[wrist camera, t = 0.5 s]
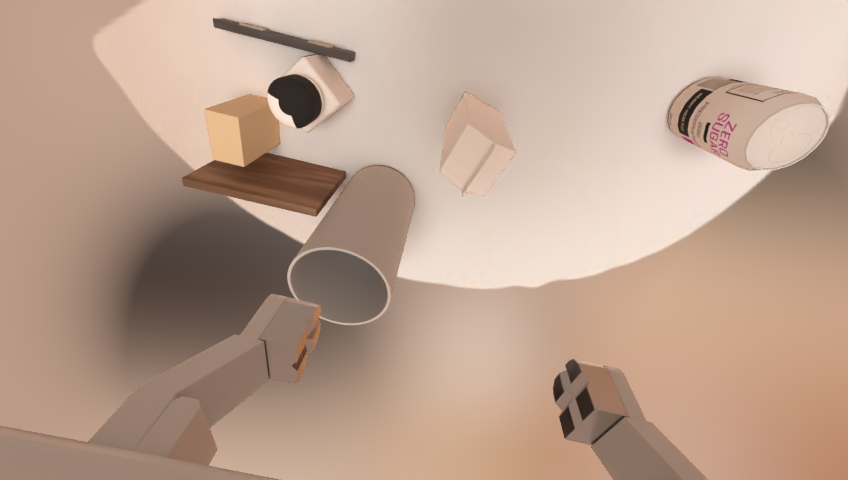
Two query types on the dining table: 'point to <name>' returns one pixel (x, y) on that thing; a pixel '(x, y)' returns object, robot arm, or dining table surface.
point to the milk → (475, 146)
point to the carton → (241, 130)
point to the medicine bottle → (308, 93)
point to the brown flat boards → (271, 173)
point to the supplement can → (749, 122)
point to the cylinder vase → (356, 249)
